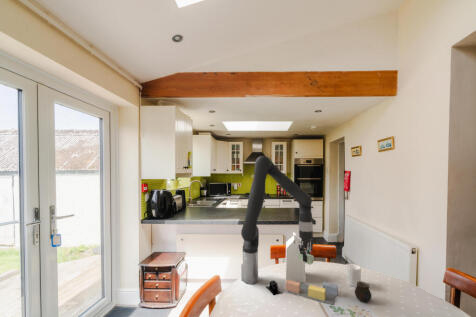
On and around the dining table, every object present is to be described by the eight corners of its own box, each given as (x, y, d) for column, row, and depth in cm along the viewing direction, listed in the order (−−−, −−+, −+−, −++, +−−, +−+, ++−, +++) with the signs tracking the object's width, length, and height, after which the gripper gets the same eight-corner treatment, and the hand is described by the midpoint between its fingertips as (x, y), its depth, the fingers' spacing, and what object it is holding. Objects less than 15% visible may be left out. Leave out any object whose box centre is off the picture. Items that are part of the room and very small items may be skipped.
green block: (298, 259, 124) (299, 252, 124) (301, 257, 127) (302, 251, 127) (310, 265, 120) (310, 257, 119) (313, 263, 122) (313, 256, 122)
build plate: (285, 295, 116) (285, 286, 116) (273, 298, 114) (273, 289, 114) (273, 284, 128) (273, 276, 128) (262, 286, 125) (262, 278, 125)
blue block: (322, 292, 117) (322, 284, 118) (323, 289, 120) (323, 281, 121) (337, 295, 114) (336, 287, 114) (337, 292, 117) (337, 284, 117)
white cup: (346, 286, 124) (346, 268, 124) (345, 279, 131) (345, 262, 132) (362, 289, 121) (361, 270, 122) (360, 282, 128) (359, 264, 129)
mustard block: (308, 296, 114) (308, 288, 114) (309, 292, 117) (309, 284, 117) (324, 300, 110) (324, 292, 110) (325, 296, 113) (325, 288, 113)
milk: (285, 271, 143) (284, 230, 144) (303, 272, 141) (302, 231, 142) (285, 280, 131) (285, 236, 132) (305, 282, 129) (304, 237, 130)
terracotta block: (285, 289, 120) (285, 282, 120) (287, 286, 123) (287, 279, 123) (298, 293, 116) (298, 285, 116) (300, 290, 119) (300, 282, 120)
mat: (288, 292, 118) (288, 291, 118) (295, 281, 129) (295, 281, 129) (333, 305, 107) (333, 304, 107) (335, 292, 118) (335, 291, 118)
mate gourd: (362, 294, 116) (361, 275, 116) (375, 303, 108) (375, 282, 109) (351, 297, 113) (351, 277, 113) (364, 306, 106) (364, 285, 106)
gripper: (305, 225, 132) (306, 255, 131) (293, 230, 121) (294, 262, 120) (317, 227, 126) (318, 258, 125) (306, 233, 116) (306, 266, 115)
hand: (306, 260), depth 123 cm, fingers closed on green block, 3 cm apart
